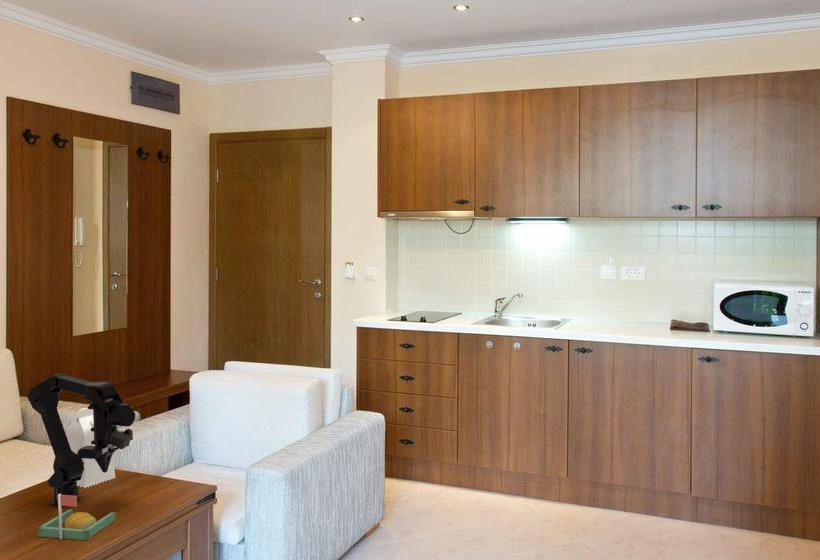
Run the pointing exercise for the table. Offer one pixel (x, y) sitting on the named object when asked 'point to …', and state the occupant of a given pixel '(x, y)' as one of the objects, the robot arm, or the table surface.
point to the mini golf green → (67, 533)
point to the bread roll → (79, 521)
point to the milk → (82, 437)
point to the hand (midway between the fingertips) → (105, 472)
